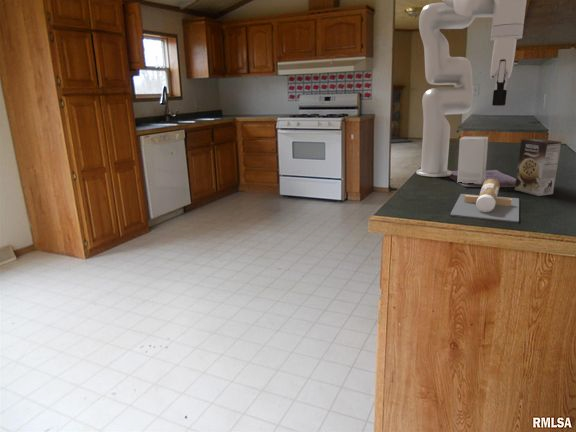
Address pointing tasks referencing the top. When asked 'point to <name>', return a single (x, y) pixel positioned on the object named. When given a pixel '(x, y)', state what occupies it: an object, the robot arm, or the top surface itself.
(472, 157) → the skincare box
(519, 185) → the coffee box
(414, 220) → the top surface
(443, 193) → the top surface
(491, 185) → the sprinkles bottle
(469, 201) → the mat
